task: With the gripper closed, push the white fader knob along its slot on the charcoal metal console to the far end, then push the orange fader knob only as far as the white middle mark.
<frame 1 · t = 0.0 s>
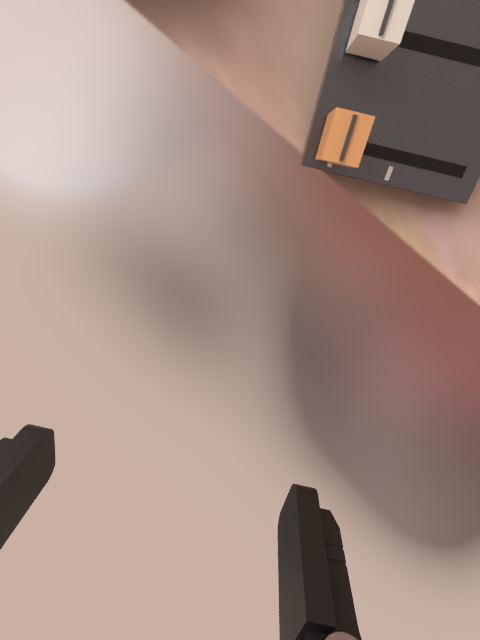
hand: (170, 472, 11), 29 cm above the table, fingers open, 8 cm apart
console: (418, 75, 29), on the table
fader orange: (342, 139, 28), point 5 cm above the table, slide at 0.0 cm
fader white: (380, 17, 24), point 5 cm above the table, slide at 0.0 cm
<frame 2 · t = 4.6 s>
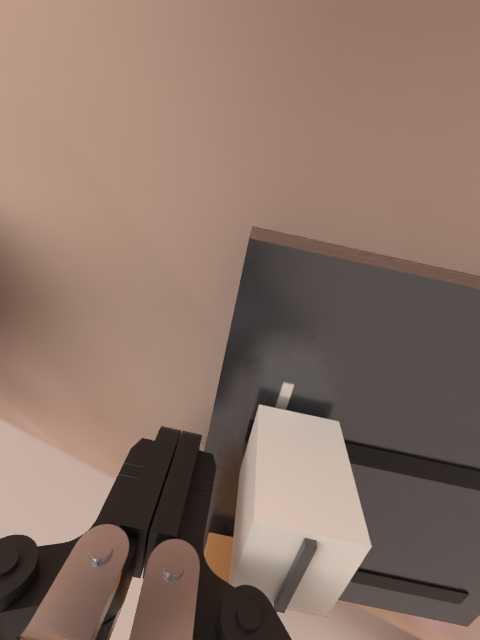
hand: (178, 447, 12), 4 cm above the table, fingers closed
console: (376, 450, 16), on the table
fader orange: (227, 617, 14), point 5 cm above the table, slide at 0.0 cm
fader white: (289, 502, 11), point 5 cm above the table, slide at 0.6 cm, touching gripper
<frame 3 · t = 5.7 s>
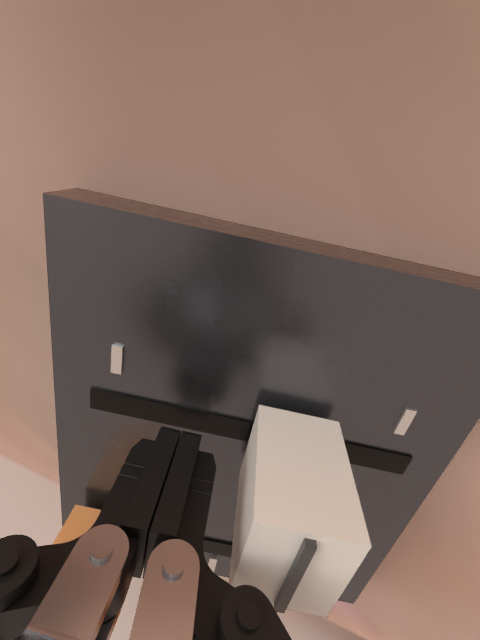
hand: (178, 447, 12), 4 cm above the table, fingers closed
console: (245, 423, 16), on the table
fader orange: (82, 587, 14), point 5 cm above the table, slide at 0.0 cm
fader white: (289, 502, 11), point 5 cm above the table, slide at 7.0 cm, touching gripper
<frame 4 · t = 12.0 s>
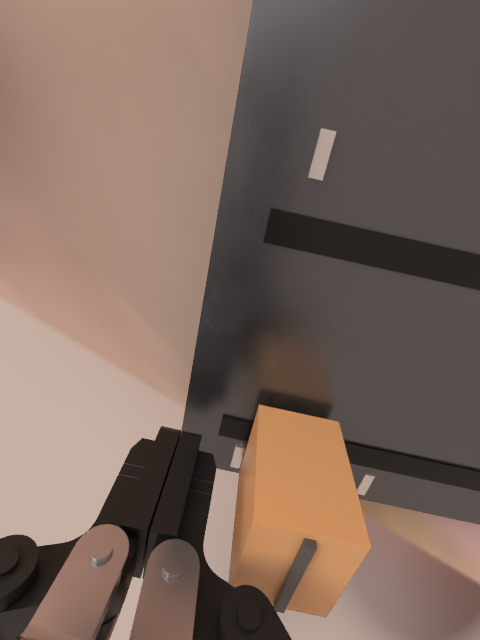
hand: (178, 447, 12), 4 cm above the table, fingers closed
console: (428, 293, 12), on the table
fader orange: (289, 502, 11), point 5 cm above the table, slide at 1.7 cm, touching gripper
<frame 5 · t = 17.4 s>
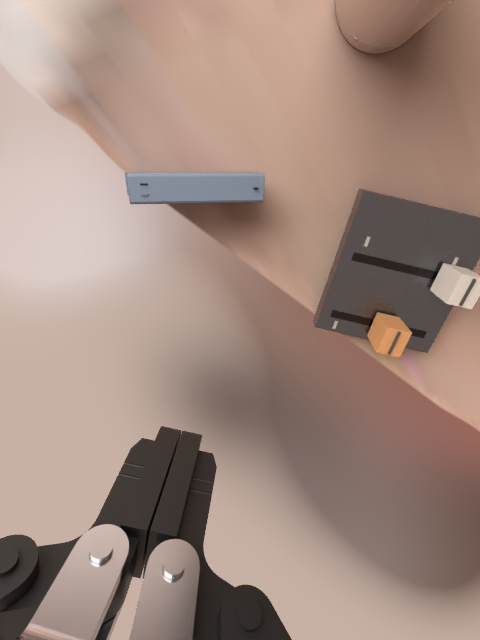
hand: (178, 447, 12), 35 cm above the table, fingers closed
toy: (197, 183, 41), on the table
console: (393, 274, 44), on the table
fader orange: (388, 334, 42), point 5 cm above the table, slide at 6.0 cm
fader white: (457, 285, 39), point 5 cm above the table, slide at 11.0 cm
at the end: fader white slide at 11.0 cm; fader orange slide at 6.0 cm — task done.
